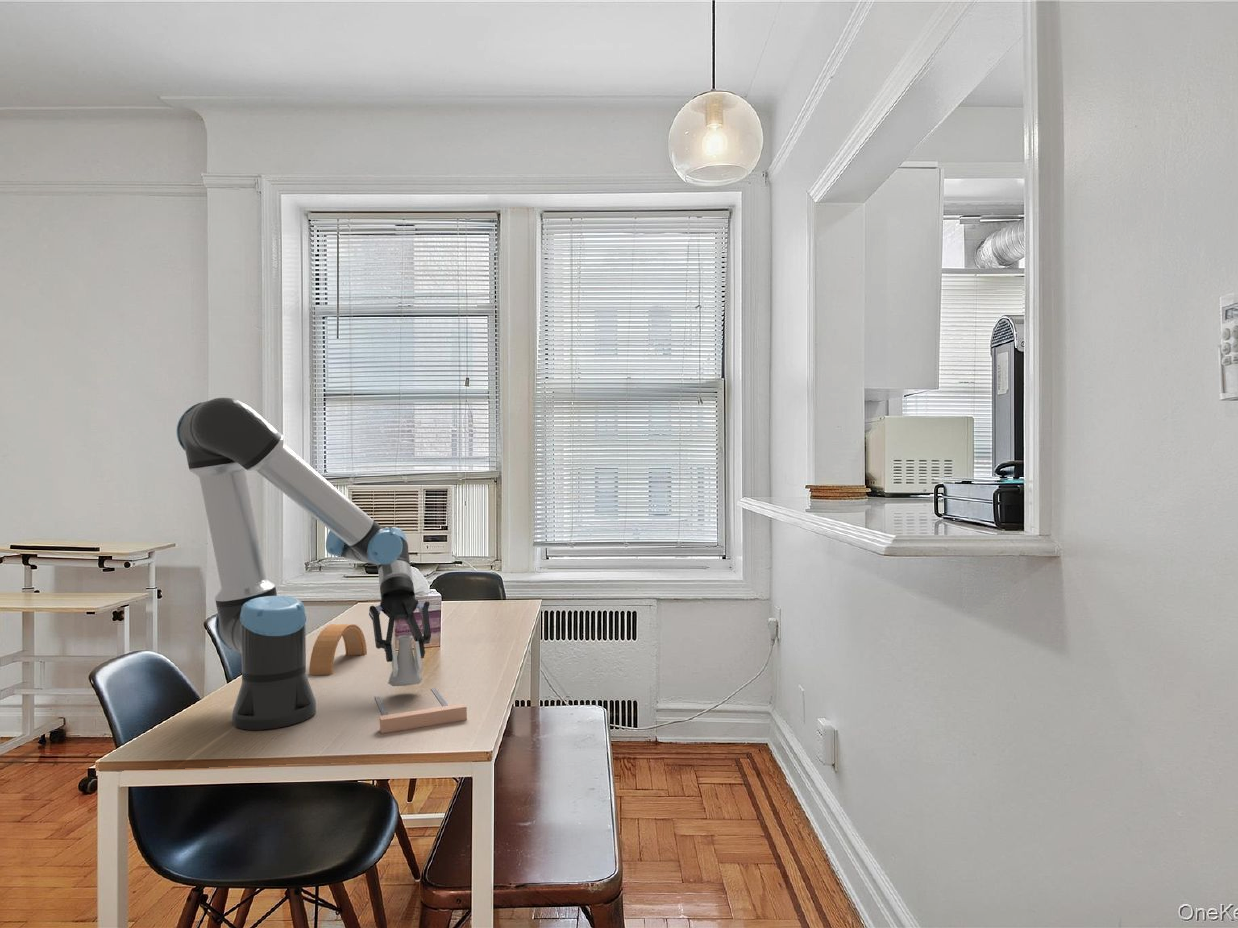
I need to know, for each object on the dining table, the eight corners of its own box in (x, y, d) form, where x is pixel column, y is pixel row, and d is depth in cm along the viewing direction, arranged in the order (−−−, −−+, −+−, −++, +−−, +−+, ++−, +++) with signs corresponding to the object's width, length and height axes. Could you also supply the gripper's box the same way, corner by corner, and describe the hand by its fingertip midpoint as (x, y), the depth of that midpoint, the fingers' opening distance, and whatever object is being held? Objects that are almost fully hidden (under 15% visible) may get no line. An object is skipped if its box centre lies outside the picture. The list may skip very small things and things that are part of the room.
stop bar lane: (381, 733, 136) (381, 719, 136) (367, 698, 157) (367, 686, 158) (466, 719, 143) (466, 706, 143) (442, 687, 164) (442, 676, 164)
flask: (387, 680, 162) (386, 634, 162) (420, 676, 164) (420, 632, 165) (388, 688, 155) (388, 641, 155) (424, 685, 158) (423, 638, 158)
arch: (367, 654, 197) (366, 617, 197) (331, 675, 177) (330, 633, 177) (346, 654, 198) (346, 617, 198) (308, 674, 178) (307, 633, 178)
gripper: (431, 591, 178) (446, 676, 162) (356, 597, 170) (364, 686, 155) (435, 572, 173) (451, 657, 158) (358, 577, 166) (366, 667, 150)
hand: (407, 671), depth 156 cm, fingers closed on flask, 4 cm apart
